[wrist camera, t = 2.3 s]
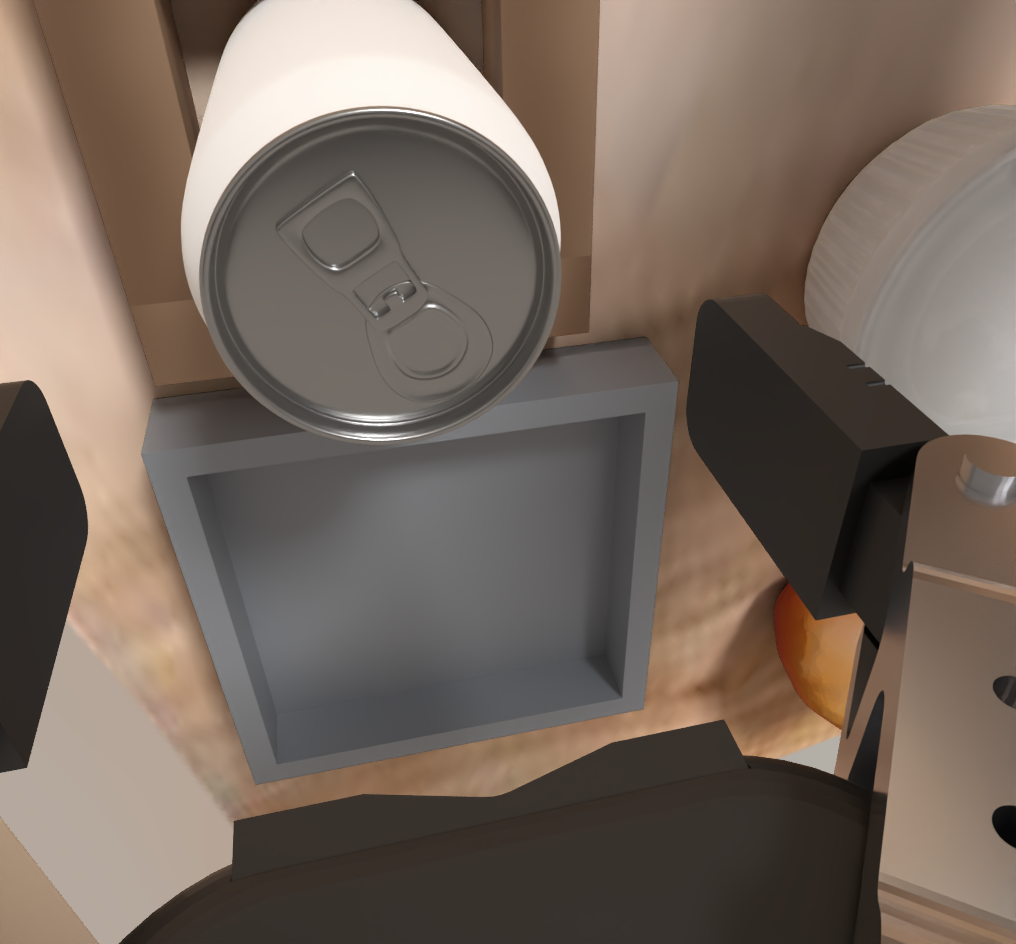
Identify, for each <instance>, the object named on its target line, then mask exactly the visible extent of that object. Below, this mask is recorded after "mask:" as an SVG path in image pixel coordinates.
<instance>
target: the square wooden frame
mask: <svg viewBox="0 0 1016 944" xmlns="http://www.w3.org/2000/svg"><path fill="white" fill-rule="evenodd" d="M33 1H34V5H35V8H36V11H37V14H38V17H39V20H40V24H41V27H42V30H43V33H44V36H45V39H46V43H47V46H48V49H49V52H50V55H51V58H52V62H53V65H54V68H55V71H56V74H57V77H58V81H59V84H60V87H61V90H62V93H63V96H64V99H65V103H66V106H67V109H68V112H69V115H70V118H71V122H72V125H73V128H74V131H75V134H76V137H77V141H78V144H79V147H80V150H81V153H82V156H83V160H84V163H85V166H86V169H87V172H88V175H89V179H90V182H91V185H92V188H93V191H94V194H95V198H96V201H97V204H98V207H99V210H100V213H101V217H102V220H103V223H104V226H105V229H106V232H107V236H108V239H109V242H110V245H111V248H112V251H113V254H114V258H115V261H116V264H117V267H118V270H119V273H120V277H121V280H122V283H123V286H124V289H125V292H126V296H127V299H128V302H129V305H130V308H131V311H132V315H133V318H134V321H135V324H136V327H137V330H138V334H139V337H140V340H141V343H142V346H143V349H144V353H145V356H146V359H147V362H148V365H149V368H150V372H151V375H152V378H153V381H154V384H155V386H162V385H170V384H178V383H186V382H194V381H202V380H210V379H218V378H226V377H234V376H233V374H232V373H231V372H230V370H229V369H228V367H227V366H226V364H225V363H224V361H223V360H222V358H221V356H220V354H219V353H218V351H217V349H216V347H215V345H214V343H213V340H212V338H211V336H210V333H209V330H208V327H207V325H206V324H205V322H204V320H203V318H202V317H201V315H200V313H199V311H198V308H197V306H196V304H195V302H194V299H193V296H192V294H191V291H190V288H189V285H188V281H187V277H186V273H185V268H184V262H183V255H182V243H181V215H182V205H183V199H184V193H185V188H186V183H187V178H188V174H189V170H190V166H191V162H192V158H193V154H194V150H195V147H196V143H197V139H198V136H199V132H200V128H199V124H198V120H197V116H196V111H195V107H194V103H193V98H192V94H191V90H190V85H189V81H188V77H187V72H186V68H185V64H184V59H183V55H182V51H181V47H180V42H179V38H178V34H177V29H176V25H175V21H174V16H173V12H172V8H171V3H170V0H33ZM481 4H482V29H483V54H484V78H485V79H486V80H487V82H488V83H489V84H490V85H491V86H492V88H493V89H494V90H495V91H496V92H497V94H498V95H499V96H500V97H501V99H502V100H503V101H504V102H505V104H506V105H507V106H508V107H509V109H510V110H511V111H512V112H513V114H514V115H515V116H516V118H517V119H518V120H519V122H520V123H521V125H522V126H523V127H524V129H525V130H526V132H527V133H528V135H529V136H530V138H531V139H532V141H533V143H534V144H535V146H536V148H537V150H538V152H539V154H540V156H541V158H542V160H543V162H544V164H545V167H546V169H547V172H548V174H549V177H550V180H551V182H552V185H553V189H554V192H555V196H556V200H557V205H558V211H559V218H560V231H561V246H560V256H561V270H562V280H561V293H560V300H559V306H558V310H557V314H556V318H555V321H554V325H553V328H552V330H551V333H550V335H549V337H555V336H563V335H572V334H580V333H588V332H589V316H590V286H591V256H592V226H593V196H594V166H595V136H596V106H597V76H598V46H599V16H600V0H481Z"/></svg>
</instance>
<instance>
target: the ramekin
mask: <svg viewBox="0 0 1016 944" xmlns="http://www.w3.org/2000/svg"><path fill="white" fill-rule="evenodd" d="M804 304H805V316H806V320H807V323H808V326H809V327H810V328H812V329H814V330H816V331H819V332H821V333H823V334H825V335H827V336H830V337H832V338H834V339H836V340H838V341H841V342H842V343H843V344H844V345H845V346H847V347H848V348H849V349H850V350H851V351H852V352H853V353H855V354H856V355H857V356H858V357H859V358H860V359H862V360H863V361H864V362H865V367H871V368H872V369H873V370H874V371H875V372H877V373H878V374H879V375H880V376H881V377H882V378H884V379H885V384H886V385H889V384H890V385H892V386H893V387H894V388H895V389H896V390H897V391H899V392H900V393H901V394H902V395H903V396H904V397H906V398H907V399H908V400H909V401H910V402H911V403H912V404H914V405H915V406H916V407H917V408H918V409H919V410H921V411H922V412H923V413H924V414H925V415H926V416H927V417H929V418H930V419H931V420H932V421H933V422H934V423H936V424H937V425H938V426H939V427H940V428H941V429H942V430H944V431H945V432H946V433H947V434H948V435H961V434H970V435H982V436H988V437H994V438H998V439H1002V440H1006V441H1009V442H1012V443H1016V106H1014V105H1012V106H1011V105H988V106H983V107H980V106H979V107H970V108H967V109H963V110H956V111H952V112H949V113H946V114H944V115H942V116H940V117H937V118H933V119H931V120H929V121H927V122H925V123H924V124H922V125H921V126H919V127H917V128H914V129H912V130H911V131H909V132H908V133H907V134H905V135H904V136H903V137H901V138H900V139H898V140H897V141H895V142H893V143H892V144H891V145H890V146H889V147H887V148H886V149H885V150H883V151H882V152H881V153H880V154H879V155H877V156H876V157H875V158H874V159H873V160H872V161H871V162H870V163H869V164H867V165H866V166H865V167H864V168H863V169H862V170H861V172H860V173H859V174H858V175H857V176H856V177H855V178H854V179H853V181H852V182H851V183H850V184H849V185H848V186H847V188H846V189H845V190H844V192H843V193H842V194H841V196H840V197H839V198H838V200H837V201H836V203H835V205H834V206H833V208H832V210H831V211H830V213H829V215H828V216H827V218H826V220H825V222H824V224H823V226H822V228H821V230H820V233H819V235H818V238H817V241H816V243H815V245H814V247H813V250H812V255H811V258H810V261H809V264H808V268H807V276H806V281H805V295H804Z"/></svg>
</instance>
